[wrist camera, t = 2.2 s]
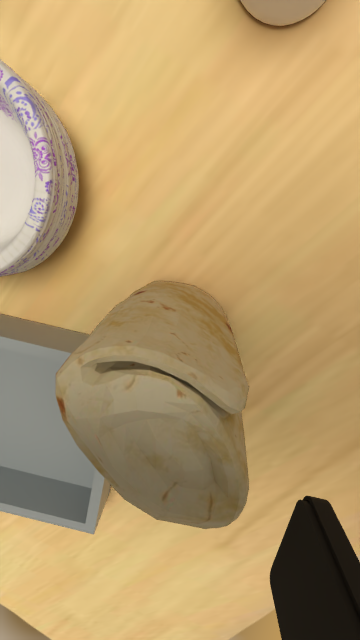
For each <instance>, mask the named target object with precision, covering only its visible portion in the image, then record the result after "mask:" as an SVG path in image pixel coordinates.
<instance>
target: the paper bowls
mask: <svg viewBox="0 0 360 640" xmlns="http://www.w3.org/2000/svg"><path fill="white" fill-rule="evenodd" d="M78 190H79V177H78V169H77V163H76V158H75V153H74V150H73V147H72V144H71V141H70V138H69V136H68V133H67V131H66V130H65V128H64V126H63V125H62V123H61V121H60V119H59V118H58V116H57V115H56V113H55V112H54V111H53V109H52V108H51V107H50V106H49V105H48V103H47V102H46V101H45V100H44V99H43V98H42V97H41V96H40V95H39V94H38V93H37V92H36V91H35V90H34V89H33V88H32V87H31V86H30V85H29V84H28V83H27V82H26V81H24V80H23V79H22V78H21V77H20V76H18V75H17V74H16V73H15V72H14V71H13V70H12V69H11V68H10V67H9V66H8V65H6V64H5V63H4V62H3V61H1V60H0V276H6V275H11V274H15V273H20V272H24V271H27V270H29V269H31V268H33V267H35V266H37V265H38V264H40V263H42V262H43V261H44V260H46V259H47V258H48V257H49V256H50V255H51V254H52V253H53V252H54V251H55V250H56V249H57V248H58V246H59V245H60V244H61V243H62V241H63V240H64V238H65V236H66V235H67V233H68V231H69V228H70V226H71V224H72V221H73V218H74V215H75V212H76V208H77V203H78Z"/></svg>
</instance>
